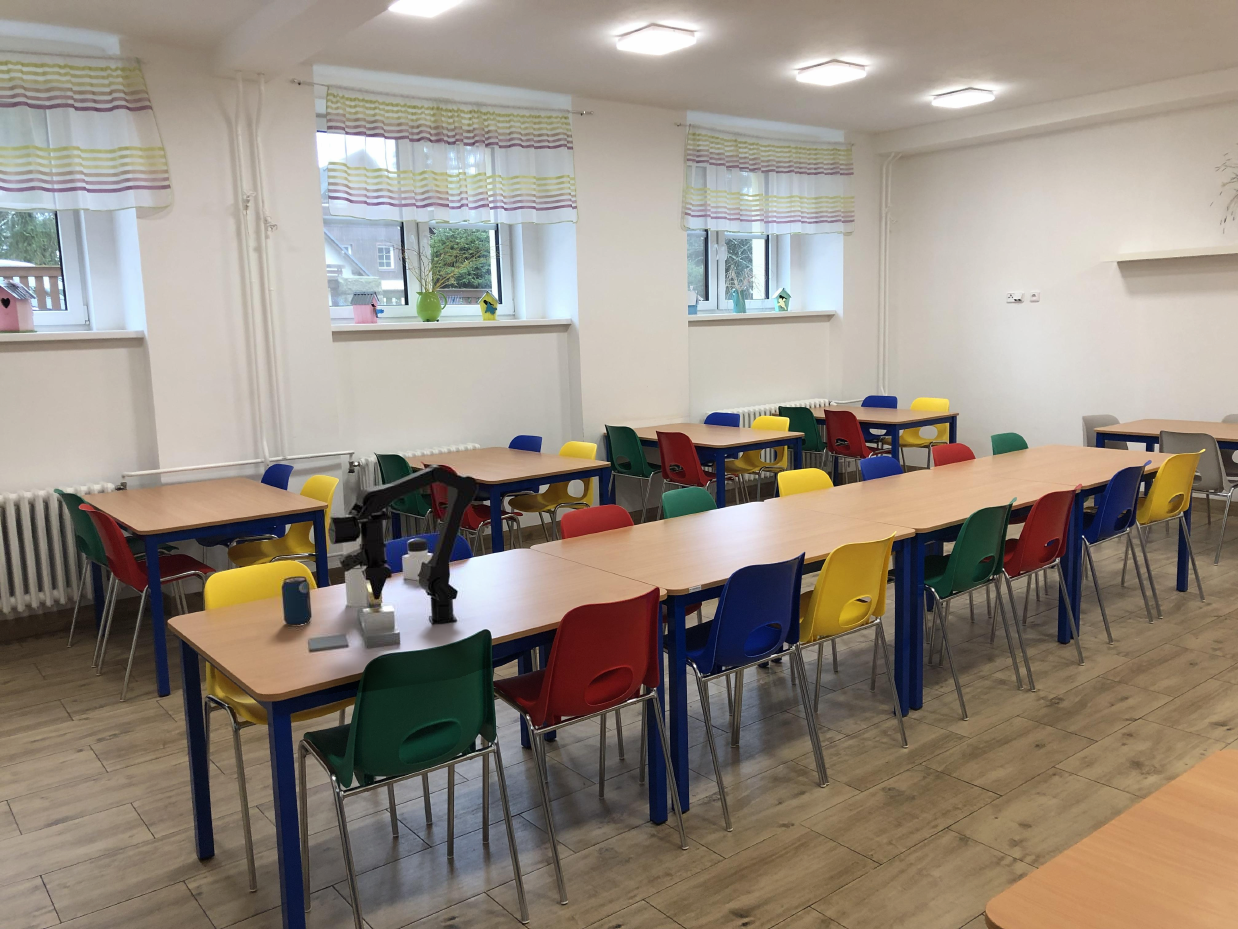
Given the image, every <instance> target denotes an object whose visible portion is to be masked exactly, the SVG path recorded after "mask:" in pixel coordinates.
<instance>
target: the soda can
mask: <svg viewBox="0 0 1238 929" xmlns="http://www.w3.org/2000/svg"><path fill="white" fill-rule="evenodd" d="M310 590H311V589H310V583H309V581H308V579H307V577H306V576H299V575H297V576H290V577H287V578H284V579H283V583H282V585H281V596H282V608H283V609H282V610H283V621H284V622H285V623H286V625H287V624H289V625H301V624H305V623H307V624H309V623H310V621H311V620H312V617H313V616H312V604H311V591H310ZM308 622H309V623H308ZM289 625H288V626H289ZM305 625H306V624H305ZM301 626H302V625H301Z"/></svg>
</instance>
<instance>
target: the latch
mask: <svg viewBox="0 0 1238 929" xmlns="http://www.w3.org/2000/svg"><path fill="white" fill-rule="evenodd" d="M366 591H367V597H368V599H369V602H370V604H378V603H381V604H383V591H382V592H381V595H380V598H379V599H377V600H375V599H374V596H373V592H372V589H371V585H370V583H369V584H366Z"/></svg>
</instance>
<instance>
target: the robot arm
mask: <svg viewBox="0 0 1238 929" xmlns="http://www.w3.org/2000/svg"><path fill="white" fill-rule="evenodd" d="M435 483H438V484H440V485H442V486H444V487H447V489H446V490H447V491H446V500H447V502H446V503H447V507H446V510H445V513H444V516H443V520H442V523H441V527H440V530H439V533H438V537H437V538H436V542H435V546H434V550H433V552H432V554H433V555H432V558H431V559H430V560H429V561H428V563H425V562H422V564H421V570H420V572H419V574H418V575H417V576H418V577H419V580H418V584H419V586H420V588H421V589H422V590H424V591H425V593H426V595H427V596H429V597H430V610H431V615H428V619H429V621H430V623H431V624H432V625H435V624H445V623H453V622H457V621H458V619H457V617H456V616H455V614H454V602H453V601H454V600H457V597H458V593H459V591H458V590H457V589H456V588H455V587H453V586H452V585H451V584H450V576H451V572H450V560H451V557H452V554H453V551H454V549H455V545H456V544H455V543H456V540H457V537H458V534H459V531H460V528H461V525H462V521H463V518H464V514H465V512H466V510H467V509H468V507H469V506H470V505H471V504H472V503H473V501H474V500H475V498H476V495H477V493H478V490H479V484H478V481H477V480H476V478H474V477H472V476H471V475H465V474H463V473H454V472H452V471H450V470H447V469H445V468H444V467H443V466H439V465H437V464H436V465H435V464H431V465H429V466H428V467H427V468H424V469H421V470H420V471H419V470H418V471H416V472H414V473H411V474H409V475H407V476H405V477H403V478H400V479H397V480H395V481H392V482H390V483H387V484H381V485H374V486H371V487H364V488H362V489H361V490H359V491H358V492H357V495H356V496H355V502H354V504H353V505H352V507H351V508H350V510H349V512H347V513H348V514H346V515H347V516H346V515H340V516H337V515H335V516H330V517H329V518H330V522H329V523H328V529H327V534H328V539H329V541H330V543H331V545H339V544H343V543H347V542H354V541H356V540H357V539H358V538H359V537H360V533H361V542H360V543H361V544H359V547H360V548H359V549H357V550H354V551H352V552H350V553H347V554H345V555H344V554H342V555H341V556H339V557H338V561H339V563H340V565H341V567H342V570H343V572H344V573H345V572H347V571H349V570H350V569H352V568H354V567H356V566H358V565H359V566H360V567H362V566H365V569H364V570H363V571H362V573H363V575H364V577H365V579H366V580H369V582H370V585H371V589H372V592H373V596H374V599H375V600H377V599H379V598H380V595H381V592H382V593H383V589H384V586H385V584H386V581H387V579H391V578H392V577H393V576H392V574H393V572H392V568H391V567H390V566H389V565H388V559H387V557H386V548H387V543H386V542H385V528H384V527H385V526H384V521H388V520H392V516H391V515H389V514H388V513H387V512H386V510H385V509H386V508H388V507H390V506H391V504H393V503H394V502H395V501H397V500H399V498H403V497H404V496H407V495H409V494H412V493H414V492H416V491H419V490H421V489H423V488H425V487H428V486H431V485H433V484H435Z"/></svg>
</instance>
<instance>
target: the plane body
mask: <svg viewBox="0 0 1238 929" xmlns="http://www.w3.org/2000/svg"><path fill="white" fill-rule="evenodd" d="M366 600H367V605H366V607H362V608H357V609H356V613H357V621H358V625H359V627H360V632H361V635H362V638H363V641H364V643H365V647H366V649H374V648H380V647H391V646H396V645H401V632H400V630H399V628H398V626H397V622H395V626H394V627H386V628H378V629H370V630H366V628H365V625H364V613H363V609H368V608H376V607H385V606H389V605H387V604H386V605H382V603H378V604H370V602H369V599H368V597H367V594H366Z"/></svg>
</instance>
